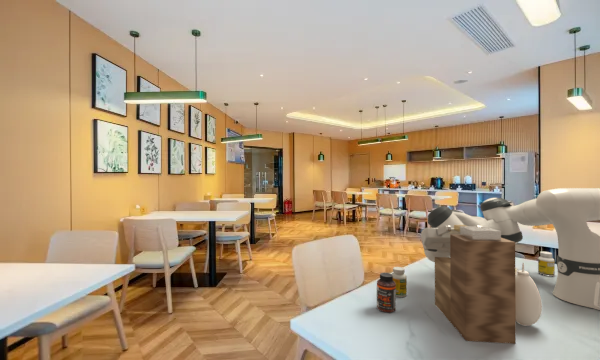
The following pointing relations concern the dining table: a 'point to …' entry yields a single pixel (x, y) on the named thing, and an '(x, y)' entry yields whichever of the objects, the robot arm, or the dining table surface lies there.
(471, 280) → the stepped stand
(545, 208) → the robot arm
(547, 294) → the dining table surface
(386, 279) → the supplement bottle
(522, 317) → the sauce bottle
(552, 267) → the supplement bottle
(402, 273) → the supplement bottle
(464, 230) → the lever cap
